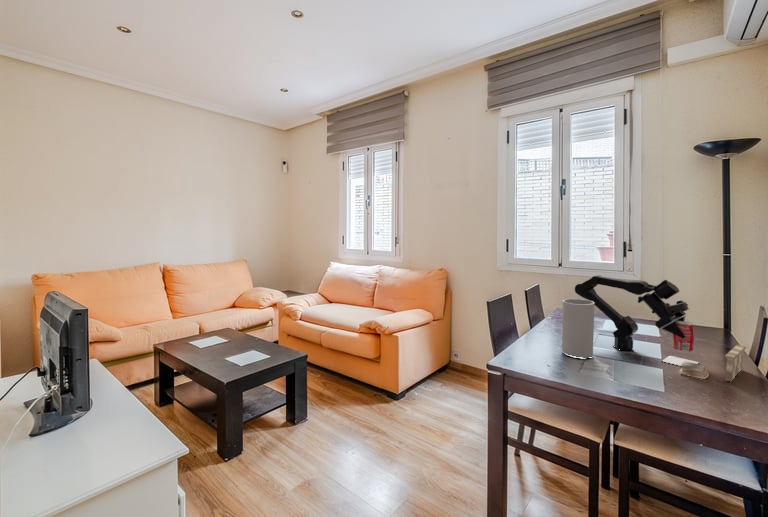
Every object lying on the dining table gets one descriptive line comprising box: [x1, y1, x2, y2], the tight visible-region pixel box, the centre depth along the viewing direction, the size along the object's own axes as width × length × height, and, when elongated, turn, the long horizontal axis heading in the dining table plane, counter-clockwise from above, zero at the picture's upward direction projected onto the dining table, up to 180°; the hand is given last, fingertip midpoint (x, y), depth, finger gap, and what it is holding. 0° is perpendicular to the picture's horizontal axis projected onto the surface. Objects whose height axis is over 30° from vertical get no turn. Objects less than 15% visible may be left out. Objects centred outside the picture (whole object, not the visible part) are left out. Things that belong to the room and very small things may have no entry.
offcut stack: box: [678, 361, 710, 379], centre depth 137 cm, size 8×5×4 cm, turn 39°
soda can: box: [671, 321, 696, 353], centre depth 148 cm, size 7×7×12 cm
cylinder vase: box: [561, 298, 595, 358], centre depth 160 cm, size 12×12×25 cm
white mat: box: [661, 355, 700, 367], centre depth 150 cm, size 10×10×1 cm
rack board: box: [725, 344, 747, 382], centre depth 136 cm, size 18×2×10 cm, turn 125°
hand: (687, 336), depth 147 cm, fingers closed on soda can, 7 cm apart
